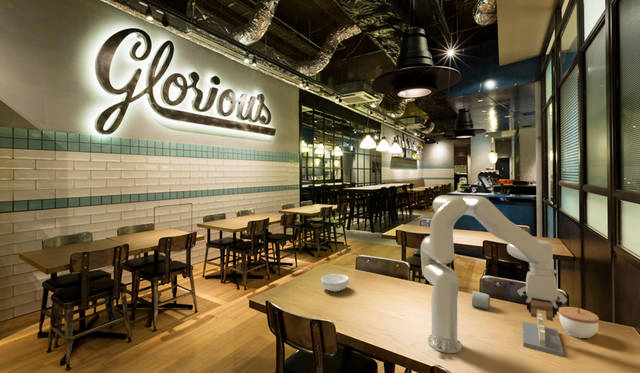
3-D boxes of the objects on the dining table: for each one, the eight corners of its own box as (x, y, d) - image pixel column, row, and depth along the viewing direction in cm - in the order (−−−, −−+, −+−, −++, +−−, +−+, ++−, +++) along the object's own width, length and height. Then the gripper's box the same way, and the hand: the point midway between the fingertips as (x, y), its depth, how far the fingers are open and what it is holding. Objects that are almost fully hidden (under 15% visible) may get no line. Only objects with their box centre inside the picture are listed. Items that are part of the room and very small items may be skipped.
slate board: (563, 356, 105) (563, 352, 105) (523, 346, 112) (523, 342, 112) (557, 332, 121) (557, 329, 121) (522, 324, 128) (522, 321, 128)
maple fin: (545, 346, 109) (545, 332, 109) (539, 345, 110) (539, 331, 110) (542, 326, 123) (542, 314, 123) (537, 325, 124) (537, 313, 124)
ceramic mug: (490, 311, 141) (490, 296, 141) (471, 308, 145) (471, 293, 145) (490, 304, 150) (490, 289, 150) (472, 300, 155) (472, 286, 155)
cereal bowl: (331, 282, 185) (331, 272, 185) (353, 288, 176) (353, 276, 175) (315, 291, 171) (315, 279, 171) (339, 297, 162) (338, 285, 162)
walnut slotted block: (552, 321, 113) (552, 303, 113) (530, 316, 117) (530, 299, 117) (551, 316, 116) (551, 300, 116) (530, 312, 120) (530, 296, 120)
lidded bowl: (551, 326, 126) (551, 302, 126) (580, 326, 126) (580, 302, 126) (575, 342, 114) (575, 315, 113) (608, 342, 113) (608, 315, 113)
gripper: (567, 272, 114) (567, 315, 114) (515, 265, 124) (515, 305, 124) (570, 277, 108) (570, 323, 108) (515, 270, 118) (515, 312, 118)
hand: (541, 313), depth 116 cm, fingers closed on walnut slotted block, 7 cm apart
